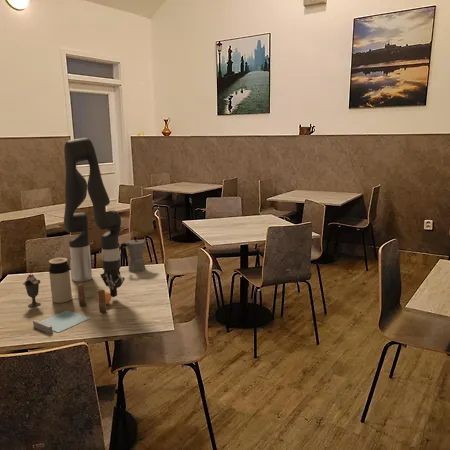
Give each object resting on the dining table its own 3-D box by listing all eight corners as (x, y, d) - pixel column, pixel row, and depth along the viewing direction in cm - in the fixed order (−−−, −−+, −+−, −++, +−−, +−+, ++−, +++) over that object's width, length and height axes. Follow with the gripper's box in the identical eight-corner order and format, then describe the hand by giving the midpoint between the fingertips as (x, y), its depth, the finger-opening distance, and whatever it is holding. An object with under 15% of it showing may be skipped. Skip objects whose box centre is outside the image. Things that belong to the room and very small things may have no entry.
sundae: (37, 300, 182) (34, 267, 179) (45, 304, 178) (42, 270, 174) (22, 305, 177) (18, 271, 174) (30, 309, 173) (26, 274, 169)
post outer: (98, 312, 169) (96, 291, 167) (103, 310, 171) (101, 289, 169) (102, 313, 168) (100, 292, 166) (107, 311, 170) (106, 290, 168)
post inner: (78, 305, 176) (76, 285, 174) (83, 303, 178) (81, 283, 176) (82, 306, 175) (80, 286, 173) (87, 304, 177) (85, 284, 175)
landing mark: (35, 323, 160) (35, 323, 160) (67, 310, 171) (67, 310, 171) (58, 332, 152) (58, 332, 152) (89, 318, 163) (89, 318, 163)
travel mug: (65, 304, 178) (61, 263, 174) (48, 302, 179) (44, 262, 176) (75, 296, 185) (71, 257, 182) (59, 295, 187) (55, 257, 183)
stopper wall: (33, 326, 157) (32, 320, 156) (36, 325, 158) (35, 319, 157) (49, 333, 151) (48, 327, 151) (52, 332, 152) (51, 326, 152)
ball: (105, 291, 181) (102, 304, 180) (96, 289, 176) (93, 302, 175) (115, 293, 178) (112, 306, 177) (106, 290, 174) (103, 304, 172)
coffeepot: (143, 264, 230) (142, 232, 226) (152, 269, 222) (150, 236, 219) (117, 270, 220) (115, 237, 216) (125, 275, 213) (123, 241, 209)
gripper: (93, 257, 178) (96, 296, 182) (115, 262, 171) (117, 302, 175) (107, 253, 184) (110, 290, 188) (128, 258, 177) (131, 296, 181)
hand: (113, 296), depth 181 cm, fingers closed
